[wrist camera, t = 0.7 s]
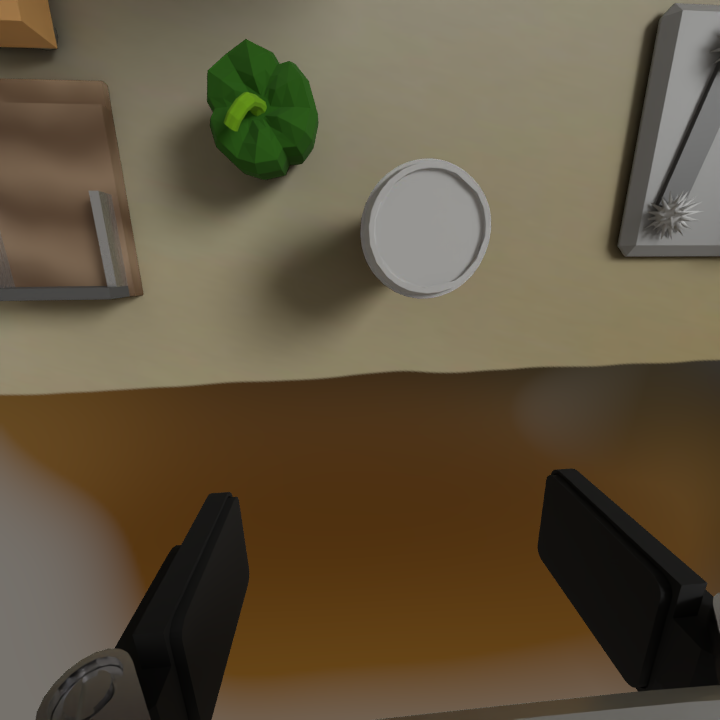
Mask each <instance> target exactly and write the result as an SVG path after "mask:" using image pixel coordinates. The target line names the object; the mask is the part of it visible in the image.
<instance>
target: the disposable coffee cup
mask: <svg viewBox="0 0 720 720" xmlns="http://www.w3.org/2000/svg"><path fill="white" fill-rule="evenodd" d="M490 232H491V215H490V209H489V205H488V203H487V200H486V197H485V195H484V193H483V191H482V190H481V188H480V186H479V185H478V183H477V182H476V181H475V180H474V179H473V178H472V177H471V176H470V175H469V174H468V173H467V172H466V171H464V170H463V169H461V168H460V167H458V166H456V165H454V164H452V163H450V162H447V161H443V160H439V159H418V160H413V161H409V162H407V163H404V164H402V165H400V166H398V167H396V168H395V169H393V170H392V171H390V172H389V173H388V174H386V175H385V176H384V177H383V178H382V179H381V180H380V181H379V182H378V184H377V185H376V186H375V188H374V189H373V191H372V192H371V194H370V196H369V198H368V200H367V202H366V204H365V208H364V211H363V214H362V218H361V232H360V236H361V244H362V249H363V253H364V256H365V259H366V261H367V263H368V265H369V267H370V269H371V270H372V272H373V273H374V274H375V276H376V277H377V278H378V279H379V280H380V281H381V282H382V283H383V284H384V285H385V286H387V287H388V288H390V289H391V290H393V291H394V292H396V293H399V294H401V295H404V296H407V297H412V298H433V297H438V296H441V295H444V294H447V293H449V292H451V291H453V290H455V289H457V288H458V287H459V286H461V285H462V284H463V283H464V282H465V281H467V280H468V279H469V278H470V277H471V276H472V275H473V273H474V272H475V270H476V269H477V268H478V266H479V265H480V263H481V261H482V259H483V257H484V255H485V253H486V249H487V246H488V243H489V239H490Z"/></svg>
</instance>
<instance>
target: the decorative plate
mask: <svg viewBox="0 0 720 720" xmlns="http://www.w3.org/2000/svg"><path fill="white" fill-rule="evenodd" d="M618 247H619V249H620V250H621V252H622V253H623V255H624V256H720V5H704V4H681V3H675V4H673V5H672V6H671V7H670V9H669V10H668V11H667V12H666V13H665V14H664V15H663V16H662V17H661V18H660V19H659V25H658V30H657V35H656V41H655V46H654V52H653V57H652V62H651V68H650V73H649V79H648V84H647V89H646V95H645V100H644V106H643V111H642V116H641V122H640V127H639V132H638V138H637V143H636V149H635V154H634V159H633V165H632V170H631V176H630V181H629V186H628V192H627V197H626V203H625V208H624V213H623V219H622V224H621V229H620V235H619V240H618Z"/></svg>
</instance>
